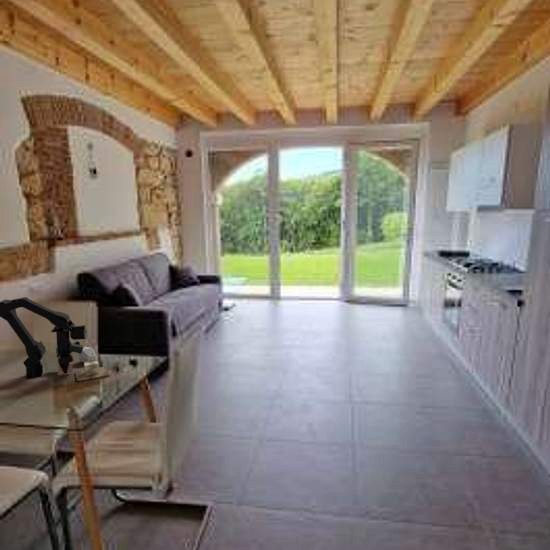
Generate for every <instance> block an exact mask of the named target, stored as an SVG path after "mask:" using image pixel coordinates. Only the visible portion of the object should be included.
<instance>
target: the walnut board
mask: <svg viewBox="0 0 550 550" xmlns="http://www.w3.org/2000/svg"><path fill="white" fill-rule="evenodd" d="M74 375H76V376H75V378H77V379H76V382H77V381H80V380H86V381H88V380H87V379H92V380H96V379H95V378H97V379H102V378H107V377H110V376H111V375H110V373H109V371H108V369H107V367H106V366H99V374H93V375H87V376H86V375H85V371H84V369H82V370H76V371H74ZM80 382H81V381H80Z"/></svg>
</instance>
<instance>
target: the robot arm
mask: <svg viewBox="0 0 550 550" xmlns="http://www.w3.org/2000/svg"><path fill="white" fill-rule="evenodd" d="M20 308H24V309H25V310H28V311H29V312H32V313H34V314H36V315H39V316H40V317H42V318H44V319H46V320H47V321H49V322H50V323H51V325H53V326H54V327H53V328H52V330H51V331H50V333H55V334H56V335H55V336H56V339H55V340H56V343H55V344H56V348H55V354H56V357H57V363H58V364H59V365H60V367H61V368H62V370H63V372H64V374H66V373H67V370H68V365H69V363H70V362H72V363H73V362H74V357H73V355H72V353H76V354H77V353H79V354H81V353H82V350H83V348H84V347H85V346H84V345H83V344H81V343H80V341H78V340H81V341H82V340H86V339H87V338H88V330H87V327H86V324H82V325H76V324H75V323H74V322H73V321H72V320H71V318H70V315H69V314H67V313H64V312H61V311H56V310H53V309H50V308H48V307H47V306H44V305H43V304H40V303H38V302H35V301H34V300H32V299H30V298H29V297H26V296H24V297H20V298H15V299H11V300H10V299H3V300H1V301H0V318H1V319H4V320H5V321H6V322H7V323H8V325H9V326H10V328H11V329H12V330H13V331H14V333H15V335H16V336H17V337H18V339H19V340H20V341H21V343H22V344H23V346H24V347H25V348H24V349H25V353H26V356H27V358H25V360H23V362H22V363H23V365H24V367H25V378H26V379H31V378H37V377H42V376H43V374H44V369H43V368H44V367H43V363H42V361H41V360H42V359H43V358H44V357H45V356H46V353H47V349H46V347H47V346H45V345H44V343H43V341H42V340H40V341H37V340H35V339H34V337H33V336H32V334H31V333H30V332H29V330H28V329H27V328H26V326H25V325H24V323H23V322H22V320H21V319H20V318H19V316H18V314H17V310H16V309H20ZM71 339H72V340H74V342H73V343H72V342H71ZM58 364H57V365H58Z"/></svg>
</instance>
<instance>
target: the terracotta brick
mask: <svg viewBox="0 0 550 550" xmlns="http://www.w3.org/2000/svg"><path fill="white" fill-rule="evenodd" d="M56 365H57V373H58V374H57V375H61V376H63V375H62V374H64V372H63V370H62V368H61V367H60V365H59V364H58V362H57V363H56ZM68 373H72V374H73V362H70V363H69V365H68V370H67V373H66V374H67V375H69V374H68Z"/></svg>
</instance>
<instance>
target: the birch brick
mask: <svg viewBox="0 0 550 550" xmlns="http://www.w3.org/2000/svg"><path fill="white" fill-rule="evenodd" d="M99 365H100V363H99V361H98V360H96V361H95V360H94V361H91V362H87V363H83V367H84V369H83V370H84V371H85V375H86V376H87V375H93V374H99V368H100V366H99Z"/></svg>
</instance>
